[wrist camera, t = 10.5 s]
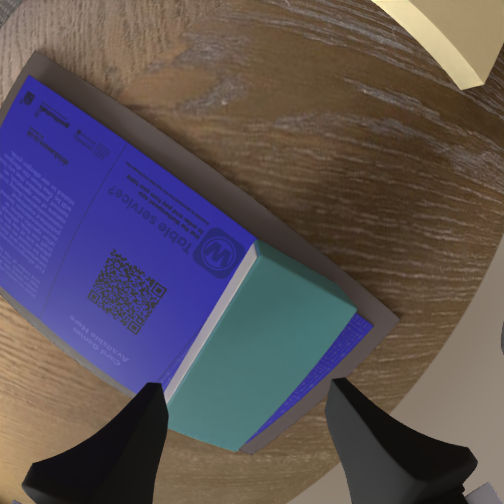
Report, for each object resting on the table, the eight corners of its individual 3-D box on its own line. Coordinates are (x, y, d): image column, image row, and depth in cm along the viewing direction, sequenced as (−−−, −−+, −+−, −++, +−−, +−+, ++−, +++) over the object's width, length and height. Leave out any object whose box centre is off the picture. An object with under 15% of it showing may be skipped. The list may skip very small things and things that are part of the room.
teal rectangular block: (338, 284, 15) (359, 308, 12) (235, 418, 17) (236, 452, 14) (254, 236, 14) (259, 253, 11) (164, 389, 16) (155, 423, 13)
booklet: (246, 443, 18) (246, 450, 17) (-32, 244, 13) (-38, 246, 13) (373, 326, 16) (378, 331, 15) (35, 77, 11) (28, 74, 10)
